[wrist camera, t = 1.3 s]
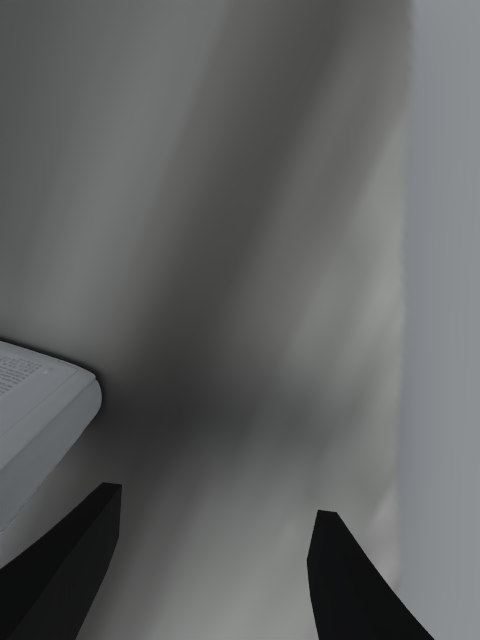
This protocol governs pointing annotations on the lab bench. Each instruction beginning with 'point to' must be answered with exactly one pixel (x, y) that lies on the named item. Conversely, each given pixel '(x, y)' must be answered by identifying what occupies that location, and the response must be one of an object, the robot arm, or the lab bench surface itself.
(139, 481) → the lab bench surface
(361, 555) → the robot arm
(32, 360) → the photo printer
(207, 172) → the lab bench surface
